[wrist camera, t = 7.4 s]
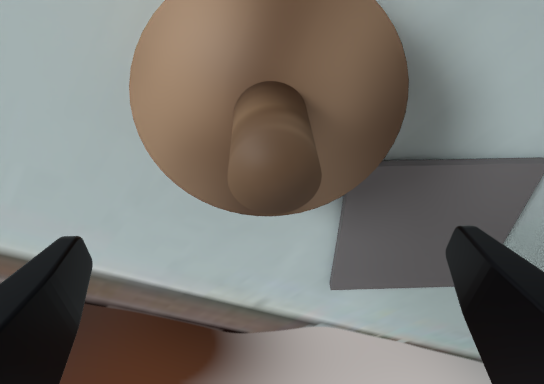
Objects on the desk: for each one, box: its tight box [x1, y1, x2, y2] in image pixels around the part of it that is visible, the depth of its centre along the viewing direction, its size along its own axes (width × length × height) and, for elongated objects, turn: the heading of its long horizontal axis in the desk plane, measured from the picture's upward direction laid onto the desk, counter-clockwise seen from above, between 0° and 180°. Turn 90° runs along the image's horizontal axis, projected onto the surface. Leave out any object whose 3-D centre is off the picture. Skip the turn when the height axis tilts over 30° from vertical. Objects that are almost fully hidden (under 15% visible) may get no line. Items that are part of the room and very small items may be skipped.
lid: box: [129, 0, 409, 216], centre depth 13 cm, size 10×10×5 cm
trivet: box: [330, 158, 544, 290], centre depth 26 cm, size 12×12×1 cm
